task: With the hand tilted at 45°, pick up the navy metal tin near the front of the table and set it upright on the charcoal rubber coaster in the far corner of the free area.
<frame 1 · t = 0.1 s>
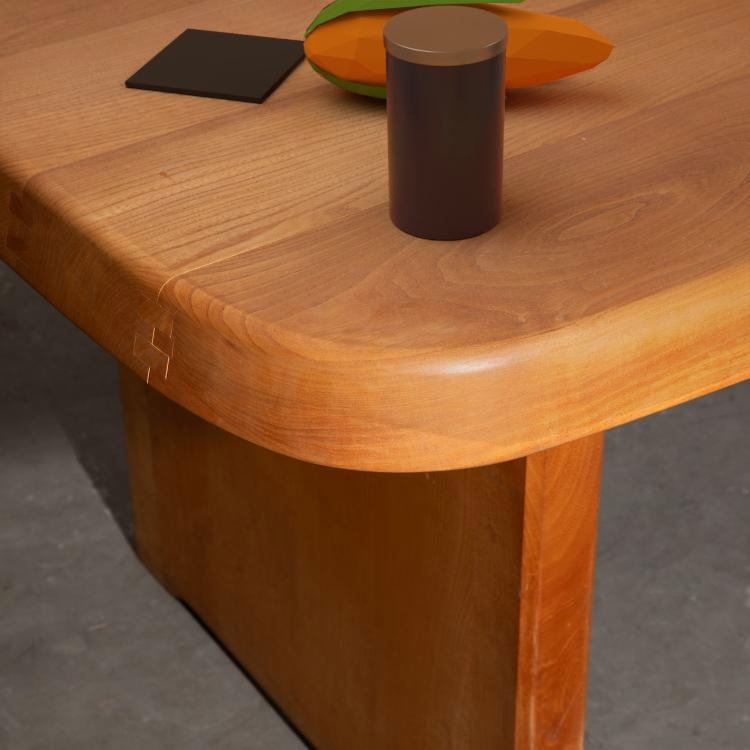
corn: (457, 96, 96), on the table
tin: (445, 212, 83), on the table
coaster: (222, 66, 101), on the table
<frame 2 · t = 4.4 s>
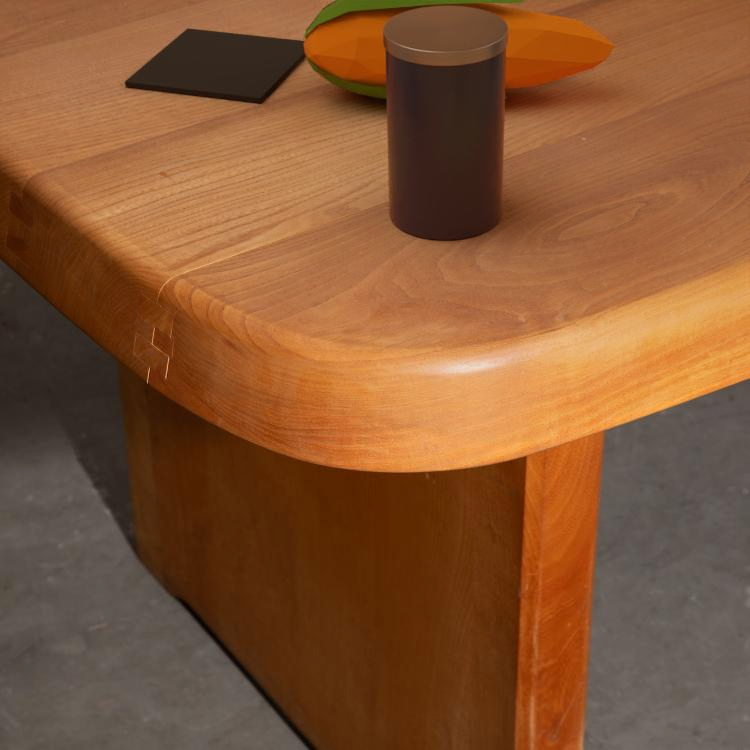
nothing on the table moved.
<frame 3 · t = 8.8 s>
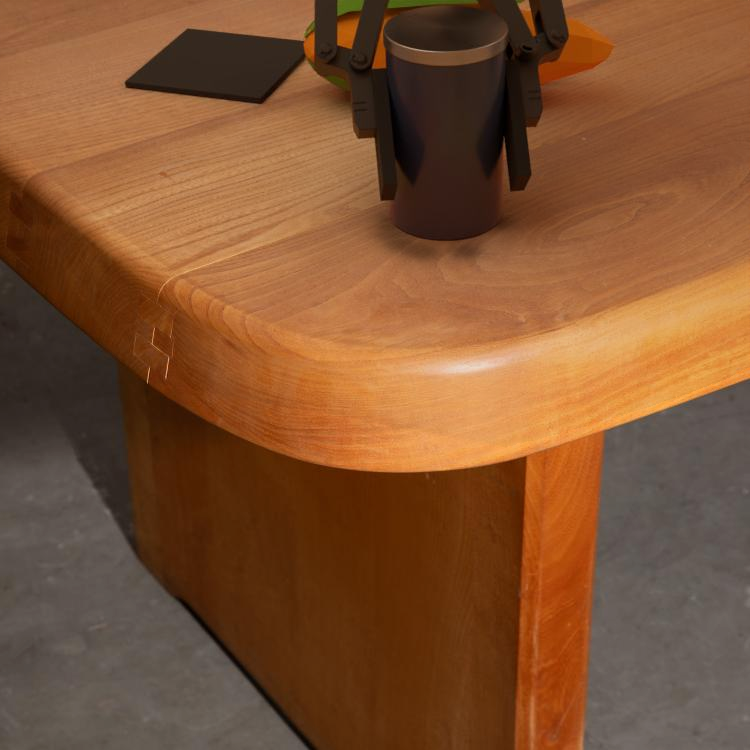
hand: (455, 187, 78), 3 cm above the table, tool tilted 45°, fingers closed on tin, 6 cm apart
tin: (445, 212, 83), on the table, touching gripper
everything else where it was.
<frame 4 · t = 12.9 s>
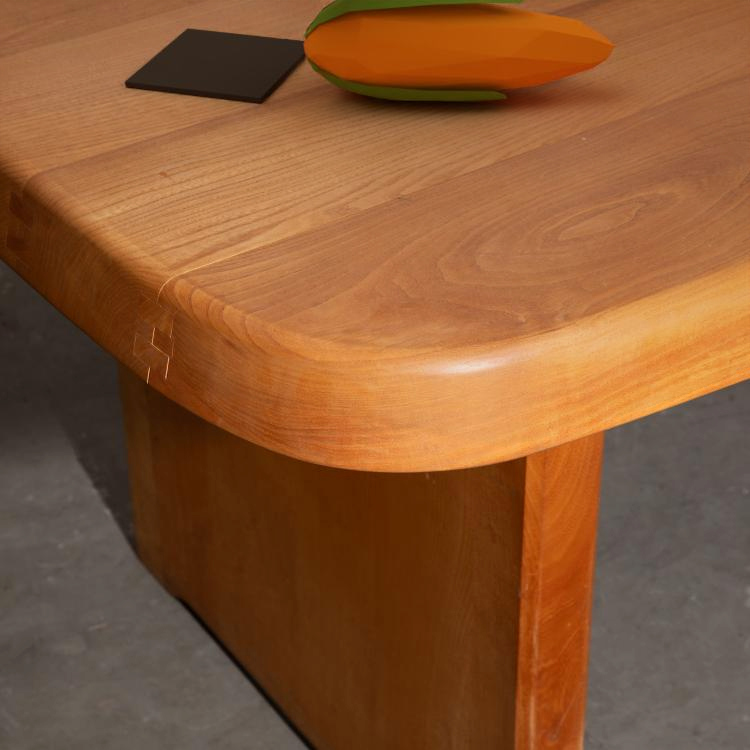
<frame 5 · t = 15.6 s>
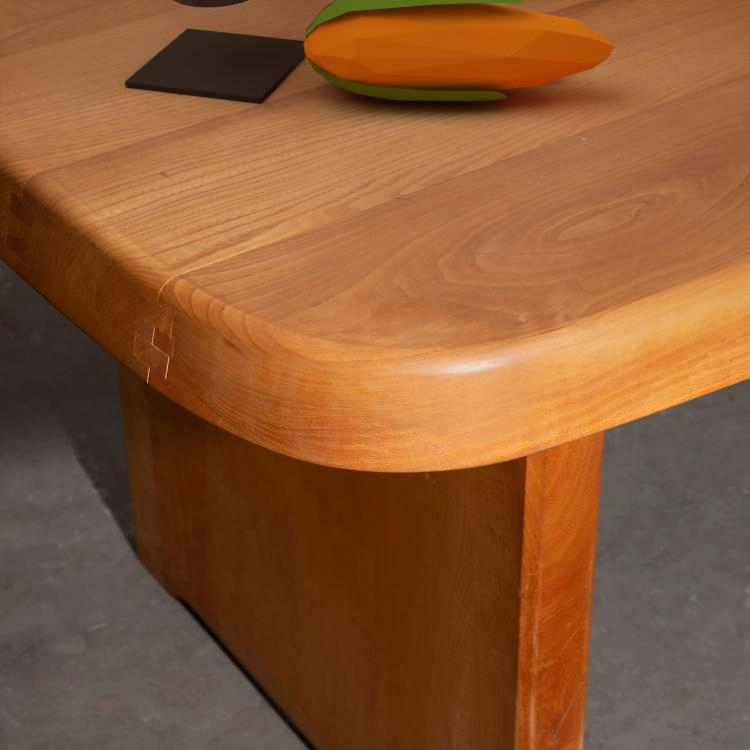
when the fingers open (4 cm above the table, at t = 17.4 s): tin stays where it is, resting on coaster.
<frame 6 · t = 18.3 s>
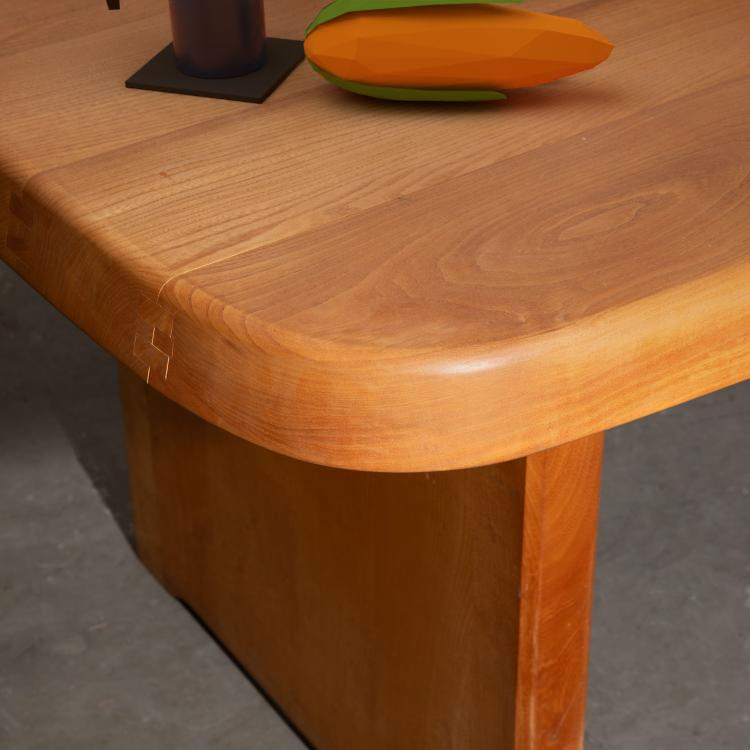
tin: (221, 60, 101), resting on coaster
everything else where it was.
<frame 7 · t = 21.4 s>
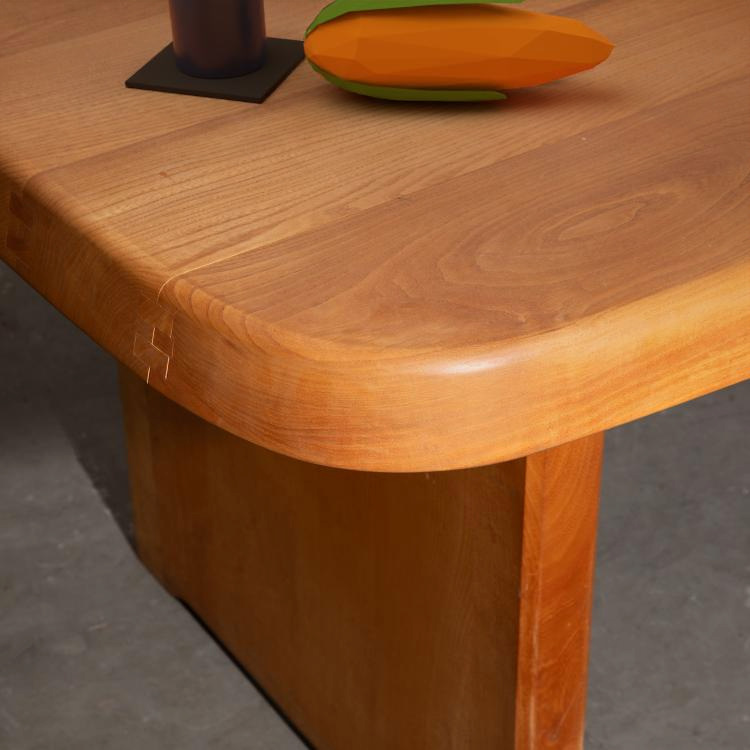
nothing on the table moved.
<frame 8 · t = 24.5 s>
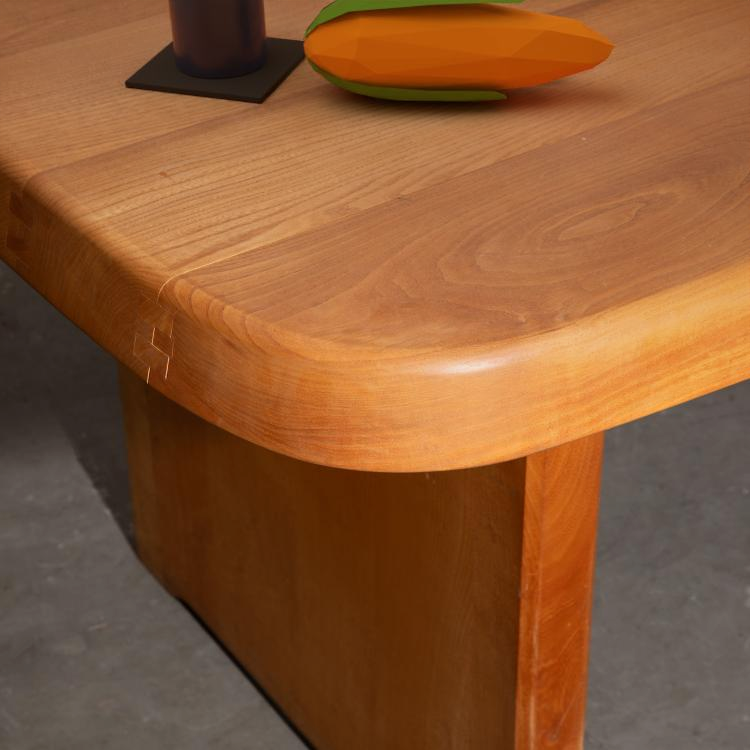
nothing on the table moved.
at the end: tin inside the target area on the coaster (0.0 cm from its centre), point 0.4 cm above the coaster's base; tin tilted 0°; the gripper is holding nothing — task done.
